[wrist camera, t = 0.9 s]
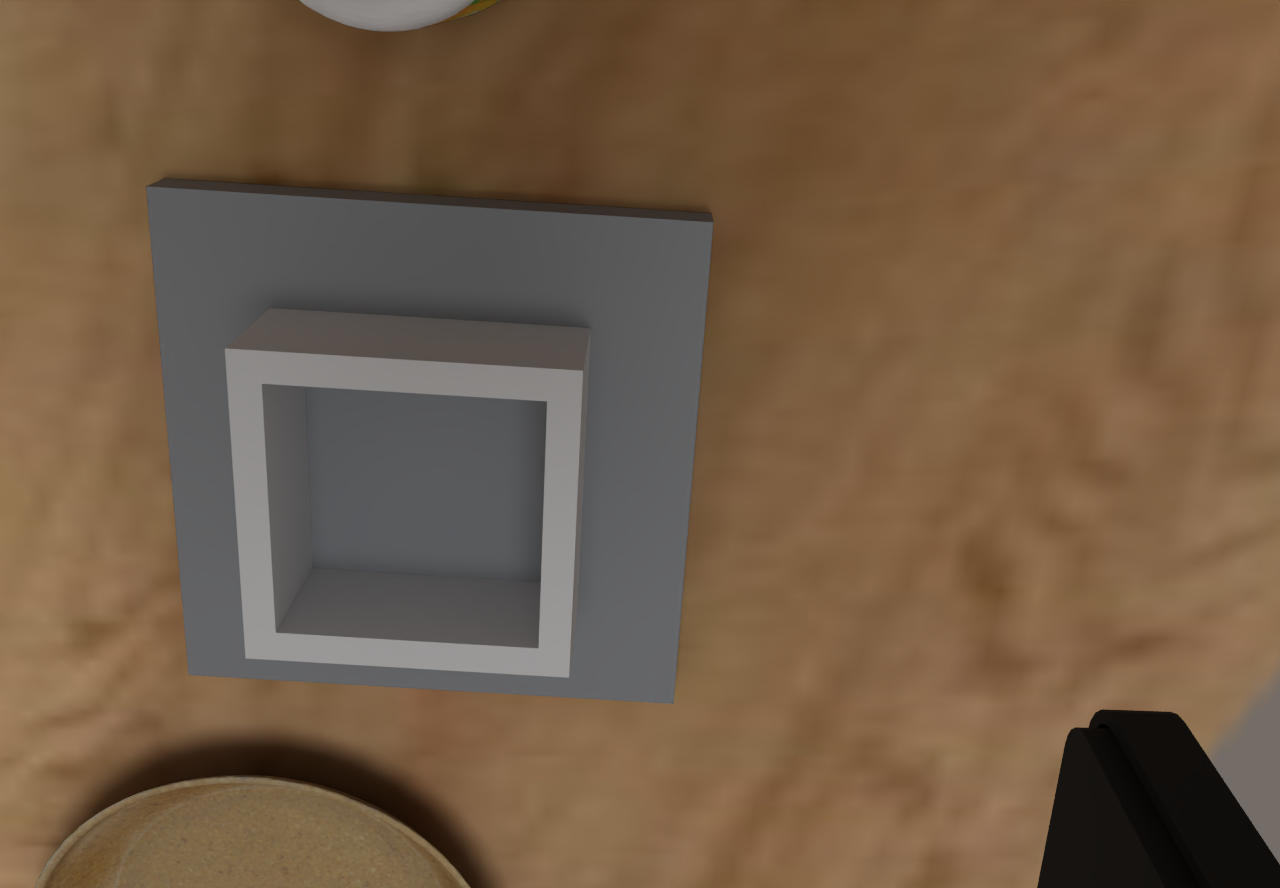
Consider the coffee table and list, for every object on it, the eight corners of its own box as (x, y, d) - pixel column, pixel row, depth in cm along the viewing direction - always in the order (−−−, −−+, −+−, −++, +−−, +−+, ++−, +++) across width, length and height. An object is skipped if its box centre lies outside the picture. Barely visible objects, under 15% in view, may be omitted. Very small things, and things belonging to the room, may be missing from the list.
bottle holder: (164, 178, 31) (84, 213, 27) (711, 213, 31) (720, 254, 27) (203, 652, 36) (141, 747, 32) (672, 680, 37) (675, 778, 32)
